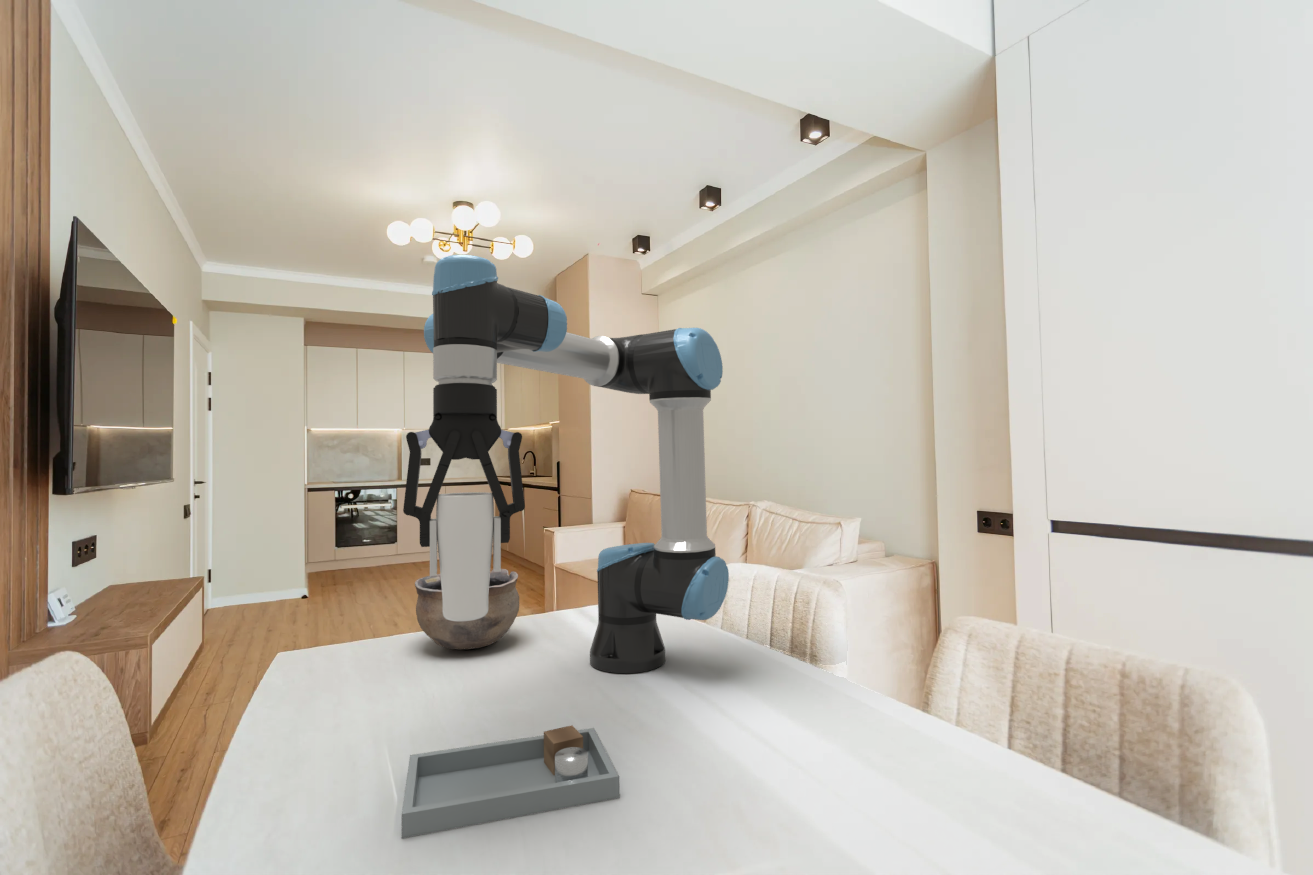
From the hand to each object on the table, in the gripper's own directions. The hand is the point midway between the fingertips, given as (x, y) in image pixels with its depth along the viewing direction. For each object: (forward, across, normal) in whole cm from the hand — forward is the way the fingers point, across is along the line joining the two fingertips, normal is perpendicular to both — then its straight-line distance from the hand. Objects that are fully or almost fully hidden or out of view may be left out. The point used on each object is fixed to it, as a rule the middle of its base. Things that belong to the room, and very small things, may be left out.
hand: (465, 571), depth 77 cm
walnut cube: (+27, -12, -3) cm, 29 cm away
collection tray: (+27, -5, 0) cm, 28 cm away
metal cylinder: (+27, -12, +3) cm, 29 cm away
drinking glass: (+6, 0, 0) cm, 6 cm away
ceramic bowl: (+27, -1, -64) cm, 69 cm away
